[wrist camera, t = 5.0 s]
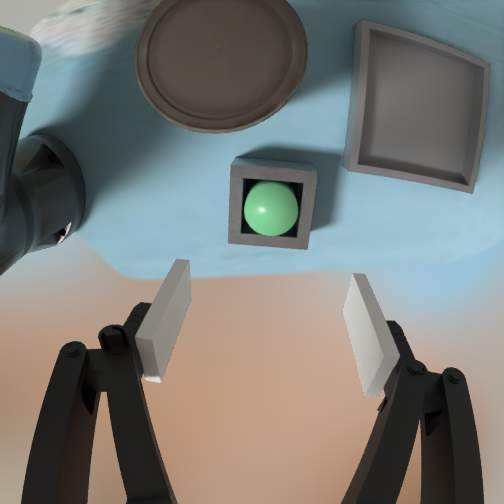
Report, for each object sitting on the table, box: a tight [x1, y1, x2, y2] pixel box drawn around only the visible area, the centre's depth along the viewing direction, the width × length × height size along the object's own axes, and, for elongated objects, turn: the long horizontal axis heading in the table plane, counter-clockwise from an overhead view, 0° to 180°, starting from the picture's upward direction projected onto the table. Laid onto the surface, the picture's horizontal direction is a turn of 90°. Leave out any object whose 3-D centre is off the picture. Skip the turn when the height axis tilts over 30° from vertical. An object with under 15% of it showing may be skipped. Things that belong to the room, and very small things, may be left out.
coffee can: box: [134, 0, 308, 134], centre depth 21 cm, size 10×10×14 cm
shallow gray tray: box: [343, 20, 490, 194], centre depth 26 cm, size 16×16×3 cm
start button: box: [244, 179, 298, 236], centre depth 31 cm, size 5×5×4 cm
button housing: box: [228, 157, 318, 250], centre depth 31 cm, size 8×8×4 cm
